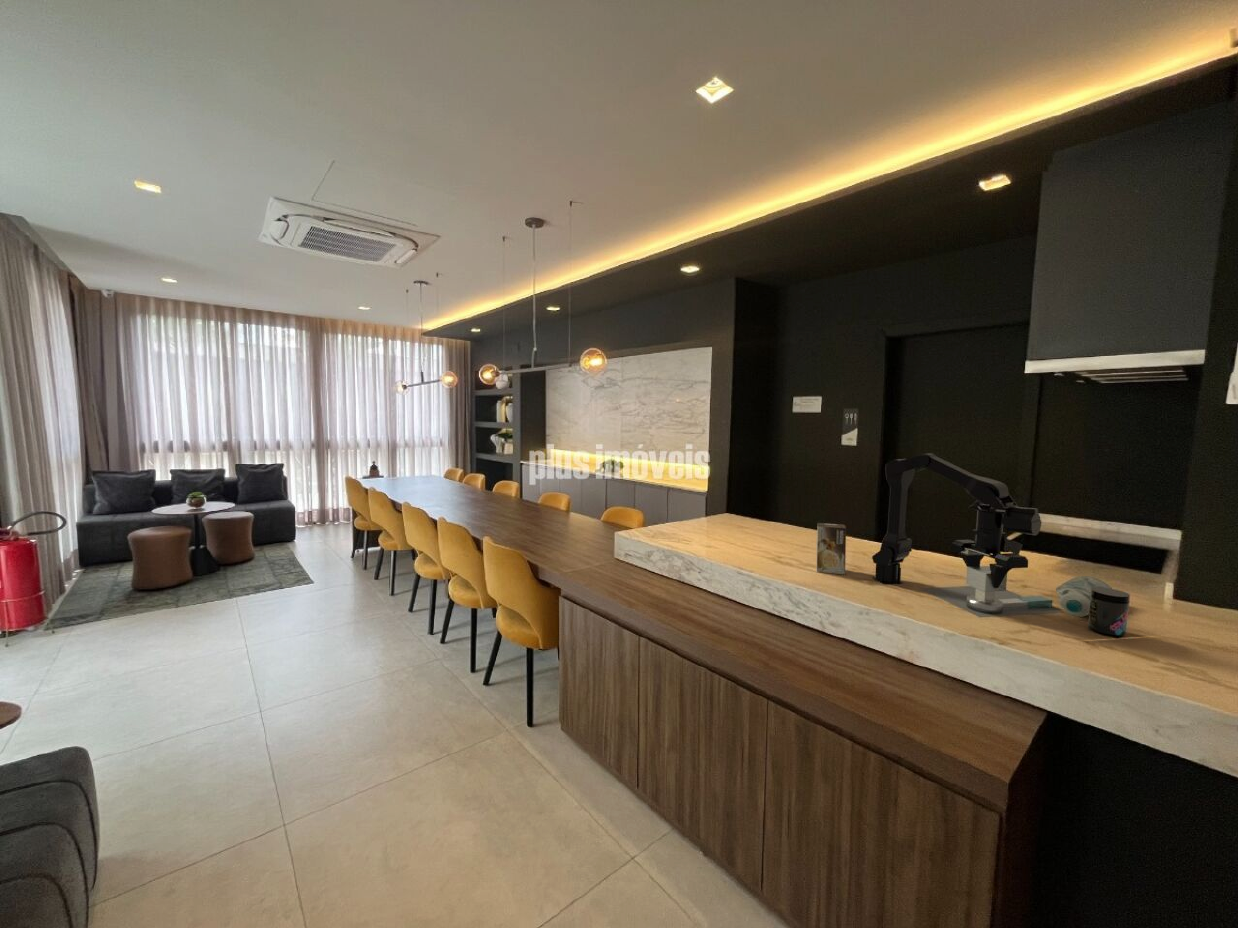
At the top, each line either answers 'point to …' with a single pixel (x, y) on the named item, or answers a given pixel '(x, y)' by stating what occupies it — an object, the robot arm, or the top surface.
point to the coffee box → (831, 548)
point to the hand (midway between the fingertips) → (985, 583)
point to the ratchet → (1004, 602)
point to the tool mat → (960, 594)
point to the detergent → (1078, 594)
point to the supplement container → (1108, 612)
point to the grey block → (983, 579)
